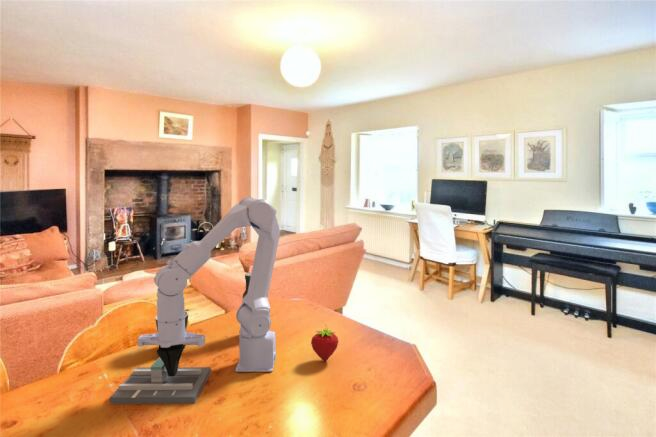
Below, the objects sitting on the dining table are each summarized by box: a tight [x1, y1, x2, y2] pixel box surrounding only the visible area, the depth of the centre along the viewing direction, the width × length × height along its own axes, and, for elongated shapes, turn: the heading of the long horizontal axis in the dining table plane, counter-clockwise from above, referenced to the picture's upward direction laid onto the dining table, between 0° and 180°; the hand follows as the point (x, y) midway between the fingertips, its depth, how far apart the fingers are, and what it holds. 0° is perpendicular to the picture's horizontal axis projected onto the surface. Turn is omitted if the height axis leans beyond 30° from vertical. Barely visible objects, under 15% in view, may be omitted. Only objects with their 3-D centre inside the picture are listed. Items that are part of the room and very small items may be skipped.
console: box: [109, 366, 212, 405], centre depth 81 cm, size 18×12×2 cm
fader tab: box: [150, 356, 169, 384], centre depth 80 cm, size 2×4×5 cm, turn 3°
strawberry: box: [310, 323, 339, 362], centre depth 94 cm, size 6×8×10 cm
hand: (172, 374), depth 80 cm, fingers closed
